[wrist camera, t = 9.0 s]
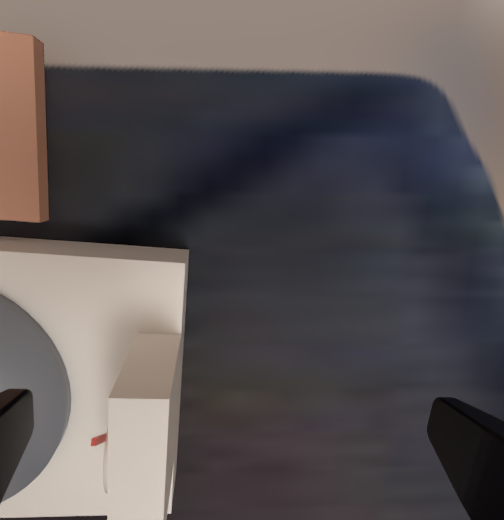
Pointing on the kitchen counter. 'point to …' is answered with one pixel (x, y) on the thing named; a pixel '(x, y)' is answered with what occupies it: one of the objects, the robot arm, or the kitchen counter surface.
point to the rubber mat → (23, 129)
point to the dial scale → (94, 375)
